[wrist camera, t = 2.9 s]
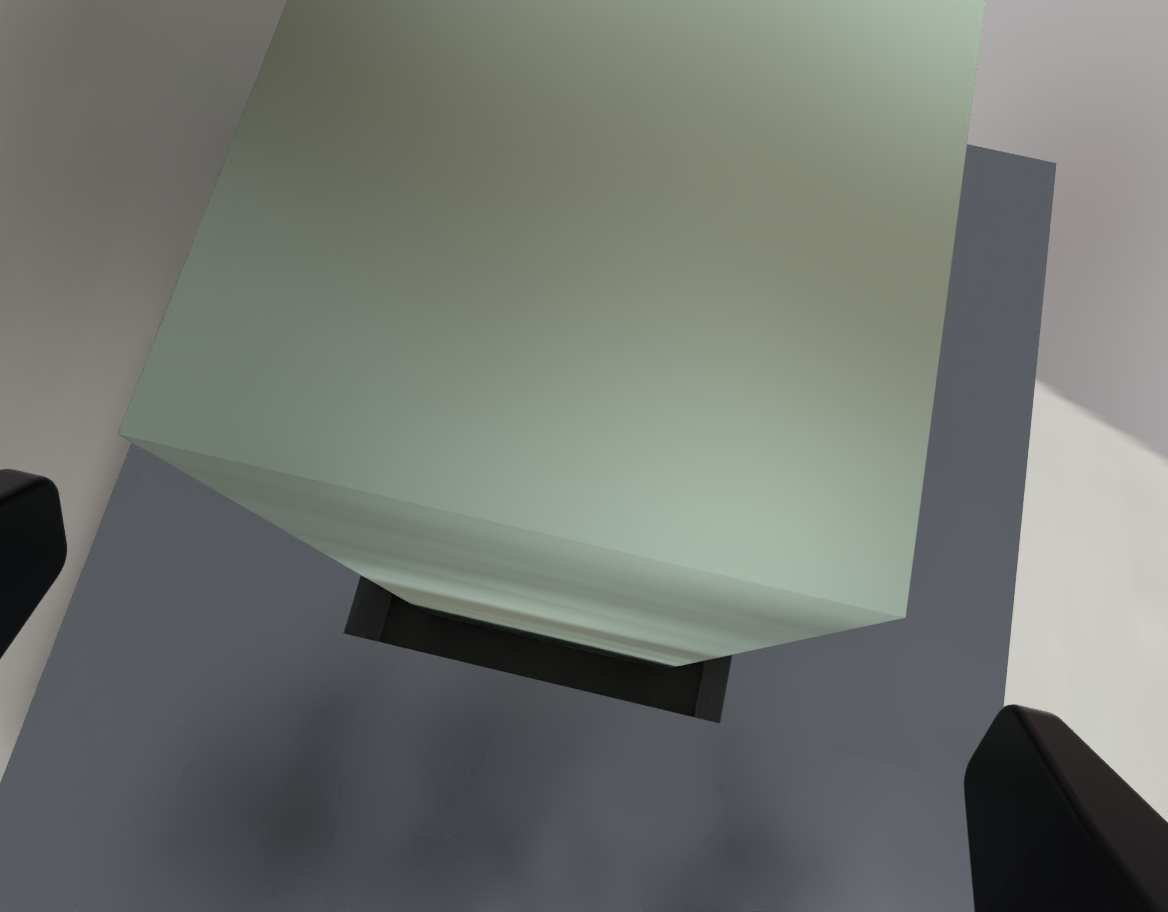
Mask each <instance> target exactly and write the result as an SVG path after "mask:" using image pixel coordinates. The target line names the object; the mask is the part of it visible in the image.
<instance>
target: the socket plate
mask: <svg viewBox="0 0 1168 912" xmlns="http://www.w3.org/2000/svg"><path fill="white" fill-rule="evenodd" d="M1055 171H1056V163H1052V162H1047V161H1043V160H1038V159H1033V158H1029V157H1024V156H1019V155H1014V154H1010V153H1005V152H1001V151H996V150H991V149H987V148H982V147H977V146H973V145H968V144H967V147H966V155H965V163H964V170H963V178H962V186H961V193H960V201H959V209H958V217H957V224H956V232H955V240H954V247H953V255H952V263H951V271H950V278H949V286H948V294H947V301H946V309H945V317H944V325H943V332H942V340H941V348H940V355H939V363H938V371H937V379H936V386H935V394H934V402H933V409H932V417H931V425H930V433H929V440H928V448H927V456H926V463H925V471H924V479H923V487H922V494H921V502H920V510H919V517H918V525H917V533H916V541H915V548H914V556H913V564H912V571H911V579H910V587H909V595H908V602H907V610H906V618H902V619H897V620H892V621H888V622H883V623H878V624H874V625H869V626H864V627H859V628H855V629H850V630H845V631H841V632H836V633H831V634H827V635H822V636H817V637H812V638H808V639H803V640H798V641H794V642H789V643H784V644H780V645H775V646H770V647H765V648H761V649H756V650H751V651H747V652H742V653H737V654H733V655H728V656H723V657H718V658H714V659H709V660H705V661H704V666H703V671H702V677H701V682H700V687H699V693H698V698H697V703H696V709H695V714H694V717H691V716H686V715H682V714H678V713H674V712H670V711H666V710H661V709H657V708H653V707H649V706H645V705H640V704H636V703H632V702H628V701H624V700H620V699H615V698H611V697H607V696H603V695H599V694H594V693H590V692H586V691H582V690H578V689H574V688H569V687H565V686H561V685H557V684H553V683H549V682H544V681H540V680H536V679H532V678H528V677H523V676H519V675H515V674H511V673H507V672H503V671H498V670H494V669H490V668H486V667H482V666H477V665H473V664H469V663H465V662H461V661H457V660H452V659H448V658H444V657H440V656H436V655H432V654H427V653H423V652H419V651H415V650H411V649H406V648H402V647H398V646H394V645H390V644H386V643H381V642H379V641H380V637H381V634H382V630H383V627H384V623H385V620H386V616H387V613H388V609H389V606H390V603H391V599H392V596H393V593H391V592H390V591H388V590H386V589H384V588H383V587H381V586H379V585H378V584H376V583H374V582H372V581H371V580H369V579H367V578H365V577H364V576H362V575H360V574H359V573H357V572H355V571H353V570H352V569H350V568H348V567H346V566H345V565H343V564H341V563H340V562H338V561H336V560H334V559H333V558H331V557H329V556H327V555H326V554H324V553H322V552H321V551H319V550H317V549H315V548H314V547H312V546H310V545H308V544H307V543H305V542H303V541H302V540H300V539H298V538H296V537H295V536H293V535H291V534H289V533H288V532H286V531H284V530H283V529H281V528H279V527H277V526H276V525H274V524H272V523H270V522H269V521H267V520H265V519H264V518H262V517H260V516H258V515H257V514H255V513H253V512H251V511H250V510H248V509H246V508H245V507H243V506H241V505H239V504H238V503H236V502H234V501H232V500H231V499H229V498H227V497H226V496H224V495H222V494H220V493H219V492H217V491H215V490H213V489H212V488H210V487H208V486H207V485H205V484H203V483H201V482H200V481H198V480H196V479H194V478H193V477H191V476H189V475H188V474H186V473H184V472H182V471H181V470H179V469H177V468H175V467H174V466H172V465H170V464H169V463H167V462H165V461H163V460H162V459H160V458H158V457H156V456H155V455H153V454H151V453H150V452H148V451H146V450H144V449H143V448H141V447H139V446H137V445H136V444H134V443H132V444H131V446H130V449H129V451H128V454H127V457H126V459H125V462H124V464H123V467H122V470H121V472H120V475H119V477H118V480H117V482H116V485H115V488H114V490H113V493H112V495H111V498H110V501H109V503H108V506H107V508H106V511H105V514H104V516H103V519H102V521H101V524H100V526H99V529H98V532H97V534H96V537H95V539H94V542H93V545H92V547H91V550H90V552H89V555H88V558H87V560H86V563H85V565H84V568H83V570H82V573H81V576H80V578H79V581H78V583H77V586H76V589H75V591H74V594H73V596H72V599H71V602H70V604H69V607H68V609H67V612H66V615H65V617H64V620H63V622H62V625H61V627H60V630H59V633H58V635H57V638H56V640H55V643H54V646H53V648H52V651H51V653H50V656H49V659H48V661H47V664H46V666H45V669H44V671H43V674H42V677H41V679H40V682H39V684H38V687H37V690H36V692H35V695H34V697H33V700H32V703H31V705H30V708H29V710H28V713H27V716H26V718H25V721H24V723H23V726H22V728H21V731H20V734H19V736H18V739H17V741H16V744H15V747H14V749H13V752H12V754H11V757H10V760H9V762H8V765H7V767H6V770H5V772H4V775H3V778H2V780H1V783H0V912H974V900H973V889H972V878H971V866H970V855H969V844H968V832H967V821H966V809H965V798H964V776H965V771H966V768H967V765H968V762H969V760H970V758H971V757H972V755H973V753H974V752H975V750H976V748H977V747H978V745H979V743H980V742H981V740H982V738H983V737H984V735H985V733H986V732H987V730H988V728H989V727H990V725H991V723H992V722H993V720H994V718H995V717H996V715H997V714H998V712H999V711H1000V710H1001V709H1002V708H1003V706H1004V696H1005V685H1006V675H1007V665H1008V654H1009V644H1010V634H1011V623H1012V613H1013V603H1014V593H1015V582H1016V572H1017V562H1018V551H1019V541H1020V531H1021V521H1022V510H1023V500H1024V490H1025V479H1026V469H1027V459H1028V448H1029V438H1030V428H1031V418H1032V407H1033V397H1034V387H1035V376H1036V366H1037V356H1038V346H1039V334H1040V325H1041V315H1042V304H1043V294H1044V283H1045V273H1046V263H1047V252H1048V243H1049V232H1050V221H1051V212H1052V201H1053V191H1054V181H1055Z"/></svg>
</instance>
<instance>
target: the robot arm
mask: <svg viewBox="0 0 1168 912" xmlns="http://www.w3.org/2000/svg"><path fill="white" fill-rule="evenodd" d="M66 554H67V542H66V536H65V530H64V523H63V517H62V511H61V505H60V498H59V493H58V489H57V487H56V486H55V484H54V483H53V481H51V480H50V479H48V478H46V477H44V476H39V475H35V474H31V473H27V472H22V471H18V470H12V469H3V470H0V659H1V657H2V656H3V654H4V653H5V651H6V650H7V649H8V647H9V646H10V644H11V643H12V641H13V640H14V638H15V637H16V636H17V634H18V633H19V631H20V630H21V628H22V627H23V626H24V624H25V623H26V621H27V620H28V618H29V617H30V616H31V614H32V613H33V611H34V610H35V608H36V607H37V605H38V604H39V603H40V601H41V600H42V598H43V597H44V595H45V594H46V593H47V591H48V590H49V588H50V587H51V585H52V584H53V583H54V581H55V580H56V578H57V577H58V575H59V574H60V572H61V570H62V568H63V566H64V563H65V559H66ZM964 798H965V809H966V821H967V832H968V844H969V855H970V866H971V878H972V889H973V900H974V912H1168V822H1167V821H1166V820H1164V819H1163V818H1162V817H1161V816H1160V815H1159V814H1158V813H1157V812H1156V811H1155V810H1154V809H1153V808H1152V807H1151V806H1150V805H1149V804H1148V803H1147V802H1146V801H1145V800H1144V799H1143V798H1142V797H1141V796H1140V795H1139V794H1138V793H1137V792H1136V791H1135V790H1133V789H1132V788H1131V787H1130V786H1129V785H1128V784H1127V783H1126V782H1125V781H1124V780H1123V779H1122V778H1121V777H1120V776H1119V775H1118V774H1117V773H1116V772H1115V771H1114V770H1113V769H1112V768H1111V767H1110V766H1109V765H1108V764H1107V763H1106V762H1105V761H1104V760H1102V759H1101V758H1100V757H1099V756H1098V755H1097V754H1096V753H1095V752H1094V751H1093V750H1092V749H1091V748H1090V747H1089V746H1088V745H1087V744H1086V743H1085V742H1084V741H1083V740H1082V739H1081V738H1080V737H1079V736H1078V735H1077V734H1076V733H1075V732H1074V731H1073V730H1071V729H1070V728H1069V727H1068V726H1067V725H1066V724H1065V723H1064V722H1063V721H1062V720H1061V719H1060V718H1059V717H1057V716H1056V715H1054V714H1052V713H1049V712H1046V711H1042V710H1037V709H1033V708H1029V707H1024V706H1020V705H1014V704H1013V705H1007V706H1005V707H1004V708H1002V709H1001V710H1000V711H999V712H998V714H997V715H996V717H995V718H994V720H993V722H992V723H991V725H990V727H989V728H988V730H987V732H986V733H985V735H984V737H983V738H982V740H981V742H980V743H979V745H978V747H977V748H976V750H975V752H974V753H973V755H972V757H971V758H970V760H969V762H968V765H967V768H966V771H965V776H964Z"/></svg>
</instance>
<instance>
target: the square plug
mask: <svg viewBox="0 0 1168 912" xmlns="http://www.w3.org/2000/svg"><path fill="white" fill-rule="evenodd" d="M984 8H985V0H288V1H287V3H286V6H285V8H284V11H283V13H282V16H281V19H280V21H279V24H278V26H277V29H276V31H275V34H274V36H273V39H272V42H271V44H270V47H269V49H268V52H267V54H266V57H265V59H264V62H263V65H262V67H261V70H260V72H259V75H258V77H257V80H256V82H255V85H254V87H253V90H252V93H251V95H250V98H249V100H248V103H247V105H246V108H245V110H244V113H243V116H242V118H241V121H240V123H239V126H238V128H237V131H236V133H235V136H234V139H233V141H232V144H231V146H230V149H229V151H228V154H227V156H226V159H225V161H224V164H223V167H222V169H221V172H220V174H219V177H218V179H217V182H216V184H215V187H214V190H213V192H212V195H211V197H210V200H209V202H208V205H207V207H206V210H205V212H204V215H203V218H202V220H201V223H200V225H199V228H198V230H197V233H196V235H195V238H194V241H193V243H192V246H191V248H190V251H189V253H188V256H187V258H186V261H185V264H184V266H183V269H182V271H181V274H180V276H179V279H178V281H177V284H176V286H175V289H174V292H173V294H172V297H171V299H170V302H169V304H168V307H167V309H166V312H165V315H164V317H163V320H162V322H161V325H160V327H159V330H158V332H157V335H156V338H155V340H154V343H153V345H152V348H151V350H150V353H149V355H148V358H147V360H146V363H145V366H144V368H143V371H142V373H141V376H140V378H139V381H138V383H137V386H136V389H135V391H134V394H133V396H132V399H131V401H130V404H129V406H128V409H127V412H126V414H125V417H124V419H123V422H122V424H121V427H120V429H119V432H118V435H120V436H122V437H124V438H125V439H127V440H129V441H131V442H132V443H134V444H136V445H137V446H139V447H141V448H143V449H144V450H146V451H148V452H150V453H151V454H153V455H155V456H156V457H158V458H160V459H162V460H163V461H165V462H167V463H169V464H170V465H172V466H174V467H175V468H177V469H179V470H181V471H182V472H184V473H186V474H188V475H189V476H191V477H193V478H194V479H196V480H198V481H200V482H201V483H203V484H205V485H207V486H208V487H210V488H212V489H213V490H215V491H217V492H219V493H220V494H222V495H224V496H226V497H227V498H229V499H231V500H232V501H234V502H236V503H238V504H239V505H241V506H243V507H245V508H246V509H248V510H250V511H251V512H253V513H255V514H257V515H258V516H260V517H262V518H264V519H265V520H267V521H269V522H270V523H272V524H274V525H276V526H277V527H279V528H281V529H283V530H284V531H286V532H288V533H289V534H291V535H293V536H295V537H296V538H298V539H300V540H302V541H303V542H305V543H307V544H308V545H310V546H312V547H314V548H315V549H317V550H319V551H321V552H322V553H324V554H326V555H327V556H329V557H331V558H333V559H334V560H336V561H338V562H340V563H341V564H343V565H345V566H346V567H348V568H350V569H352V570H353V571H355V572H357V573H359V574H360V575H362V576H364V577H365V578H367V579H369V580H371V581H372V582H374V583H376V584H378V585H379V586H381V587H383V588H384V589H386V590H388V591H390V592H391V593H393V594H395V595H397V596H398V597H400V598H402V599H403V600H405V601H407V602H409V603H410V604H412V605H414V606H416V607H417V608H419V609H421V610H422V611H424V612H426V613H428V614H432V615H436V616H441V617H445V618H449V619H453V620H457V621H462V622H466V623H470V624H474V625H478V626H483V627H487V628H491V629H495V630H499V631H504V632H508V633H512V634H516V635H521V636H525V637H529V638H533V639H537V640H542V641H546V642H550V643H554V644H558V645H563V646H567V647H571V648H575V649H579V650H584V651H588V652H592V653H596V654H600V655H605V656H609V657H613V658H617V659H622V660H626V661H630V662H634V663H638V664H643V665H647V666H651V667H655V668H659V669H667V668H671V667H676V666H681V665H686V664H690V663H695V662H700V661H704V660H709V659H714V658H718V657H723V656H728V655H733V654H737V653H742V652H747V651H751V650H756V649H761V648H765V647H770V646H775V645H780V644H784V643H789V642H794V641H798V640H803V639H808V638H812V637H817V636H822V635H827V634H831V633H836V632H841V631H845V630H850V629H855V628H859V627H864V626H869V625H874V624H878V623H883V622H888V621H892V620H897V619H902V618H906V610H907V602H908V595H909V587H910V579H911V571H912V564H913V556H914V548H915V541H916V533H917V525H918V517H919V510H920V502H921V494H922V487H923V479H924V471H925V463H926V456H927V448H928V440H929V433H930V425H931V417H932V409H933V402H934V394H935V386H936V379H937V371H938V363H939V355H940V348H941V340H942V332H943V325H944V317H945V309H946V301H947V294H948V286H949V278H950V271H951V263H952V255H953V247H954V240H955V232H956V224H957V217H958V209H959V201H960V193H961V186H962V178H963V170H964V163H965V155H966V147H967V139H968V131H969V124H970V116H971V108H972V100H973V93H974V85H975V77H976V70H977V62H978V54H979V47H980V39H981V31H982V24H983V16H984Z"/></svg>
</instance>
